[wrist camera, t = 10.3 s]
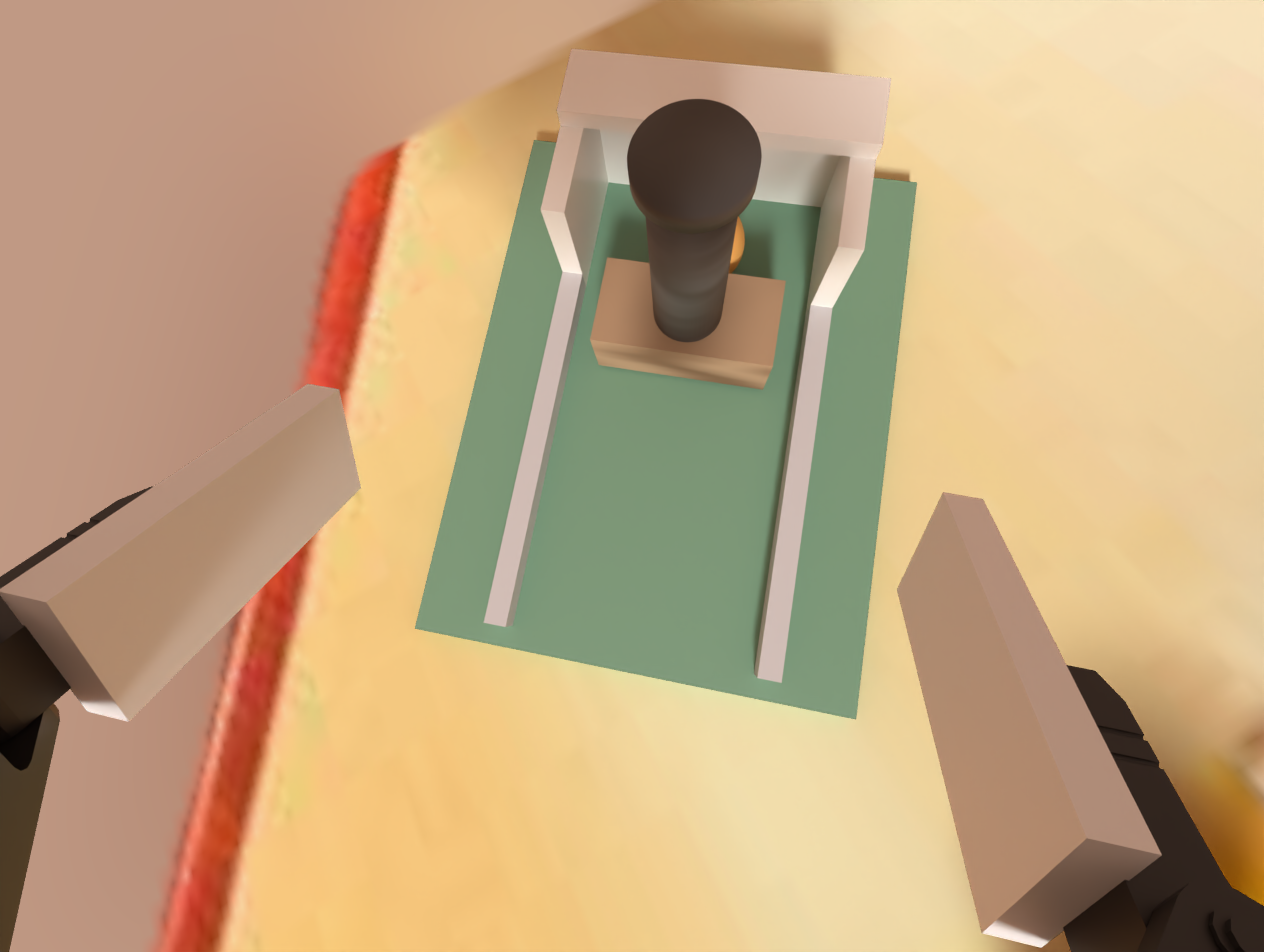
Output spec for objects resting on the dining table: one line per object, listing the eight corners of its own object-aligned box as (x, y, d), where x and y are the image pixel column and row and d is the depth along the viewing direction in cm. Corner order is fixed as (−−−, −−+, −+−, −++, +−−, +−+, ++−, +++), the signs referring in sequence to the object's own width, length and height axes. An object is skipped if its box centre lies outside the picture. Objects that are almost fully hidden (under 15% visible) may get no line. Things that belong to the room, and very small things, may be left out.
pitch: (910, 192, 31) (926, 165, 29) (850, 715, 26) (864, 725, 24) (537, 151, 33) (528, 122, 31) (422, 627, 28) (403, 630, 26)
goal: (843, 192, 30) (891, 78, 23) (826, 319, 29) (870, 237, 22) (593, 163, 31) (571, 48, 25) (566, 283, 30) (536, 197, 24)
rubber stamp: (774, 312, 29) (846, 110, 17) (762, 389, 28) (828, 237, 16) (614, 290, 30) (570, 82, 18) (598, 365, 29) (542, 202, 17)
